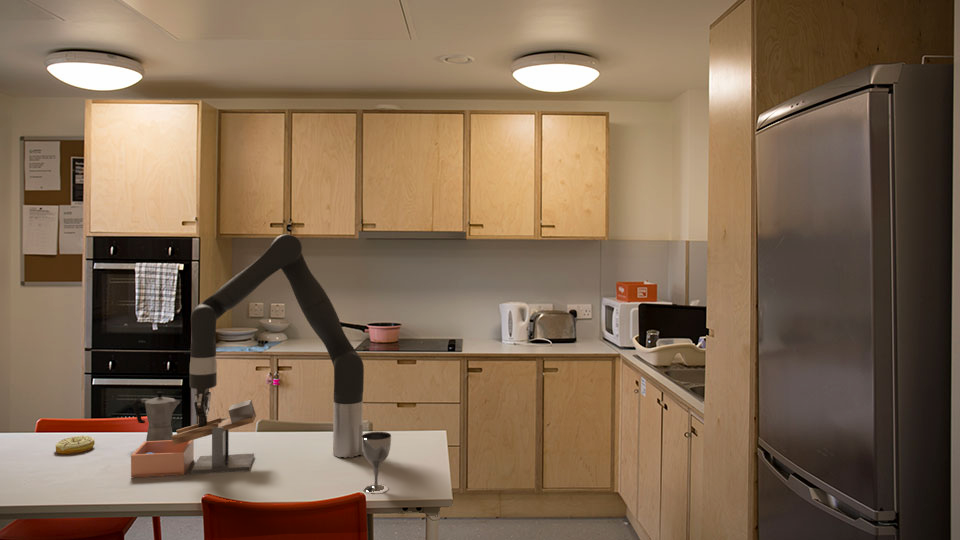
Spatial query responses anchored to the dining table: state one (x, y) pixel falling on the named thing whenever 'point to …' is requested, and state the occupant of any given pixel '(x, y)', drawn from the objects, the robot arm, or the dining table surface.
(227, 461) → the lever stand
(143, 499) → the dining table surface
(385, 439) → the wine glass
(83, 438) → the decorated donut
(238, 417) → the lever
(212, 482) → the dining table surface
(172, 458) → the cup
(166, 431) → the coffeepot
